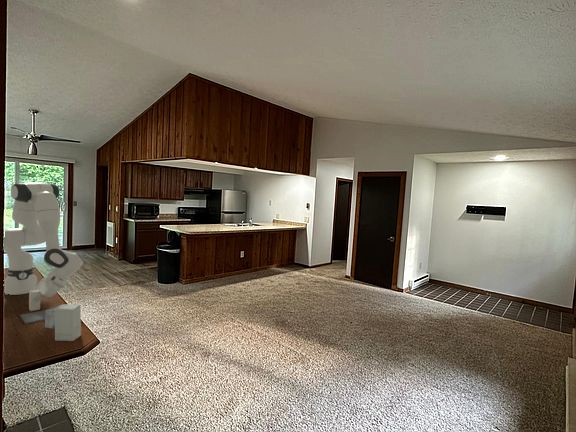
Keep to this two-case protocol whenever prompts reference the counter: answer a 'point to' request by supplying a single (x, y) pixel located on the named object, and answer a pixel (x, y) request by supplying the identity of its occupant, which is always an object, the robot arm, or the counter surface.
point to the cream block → (32, 303)
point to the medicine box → (50, 318)
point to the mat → (33, 317)
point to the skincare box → (67, 322)
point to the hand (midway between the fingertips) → (33, 299)
